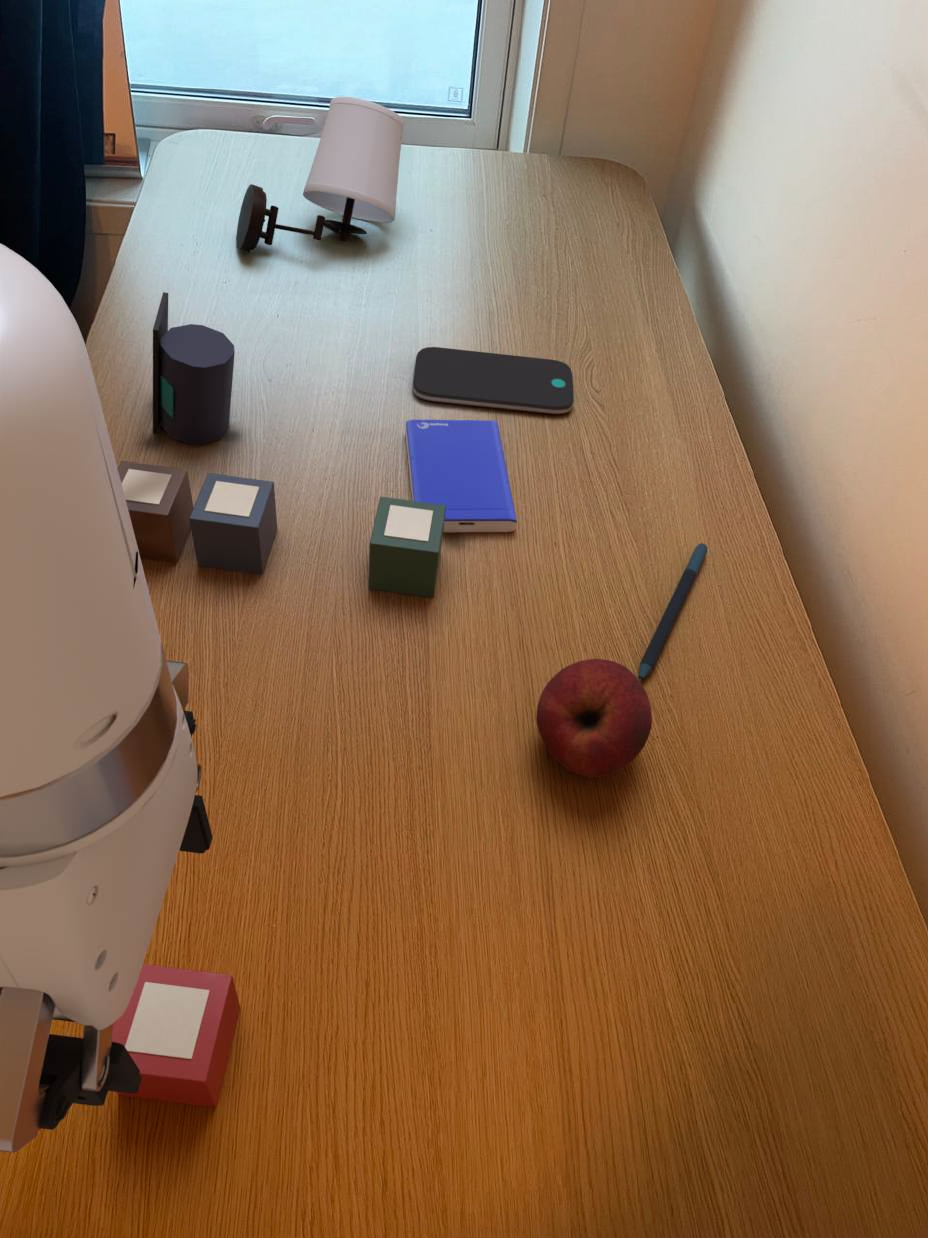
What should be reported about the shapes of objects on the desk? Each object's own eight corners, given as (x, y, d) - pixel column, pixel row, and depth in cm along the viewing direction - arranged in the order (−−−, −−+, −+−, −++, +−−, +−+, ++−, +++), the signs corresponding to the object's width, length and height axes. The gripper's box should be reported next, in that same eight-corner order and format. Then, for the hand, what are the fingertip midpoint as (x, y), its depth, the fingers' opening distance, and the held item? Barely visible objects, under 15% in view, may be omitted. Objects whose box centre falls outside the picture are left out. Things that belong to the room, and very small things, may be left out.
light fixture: (393, 289, 100) (428, 120, 97) (248, 245, 93) (281, 61, 90) (363, 292, 109) (394, 137, 106) (229, 252, 102) (258, 85, 99)
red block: (118, 1095, 47) (98, 1068, 44) (148, 995, 51) (132, 961, 47) (216, 1108, 48) (205, 1082, 44) (240, 1006, 51) (232, 974, 47)
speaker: (128, 430, 79) (120, 322, 71) (163, 394, 83) (159, 289, 75) (211, 461, 79) (212, 356, 71) (242, 424, 83) (246, 321, 75)
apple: (503, 745, 63) (521, 675, 57) (576, 682, 67) (599, 611, 61) (588, 818, 60) (616, 753, 54) (659, 748, 64) (692, 680, 58)
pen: (630, 683, 68) (634, 673, 67) (694, 548, 77) (698, 538, 76) (644, 689, 67) (648, 679, 66) (707, 553, 77) (711, 543, 76)
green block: (368, 589, 71) (369, 542, 67) (378, 542, 74) (380, 494, 70) (433, 598, 71) (439, 551, 67) (440, 551, 74) (446, 504, 70)
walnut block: (111, 554, 70) (97, 504, 67) (132, 508, 74) (120, 459, 70) (177, 563, 71) (167, 514, 67) (195, 517, 74) (187, 468, 70)
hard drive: (405, 418, 82) (416, 519, 74) (498, 419, 83) (517, 518, 75) (404, 432, 83) (415, 533, 75) (495, 433, 84) (515, 532, 76)
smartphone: (574, 409, 86) (411, 392, 85) (573, 417, 86) (411, 400, 86) (572, 360, 91) (417, 343, 90) (570, 368, 91) (417, 351, 91)
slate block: (197, 566, 71) (188, 517, 67) (214, 520, 74) (207, 471, 70) (263, 574, 71) (258, 526, 67) (277, 528, 74) (273, 480, 70)
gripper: (17, 479, 30) (119, 758, 43) (-322, 1034, 19) (-48, 1186, 32) (246, 508, 31) (279, 778, 44) (41, 1079, 19) (169, 1213, 32)
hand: (140, 951), depth 38 cm, fingers open, 9 cm apart
